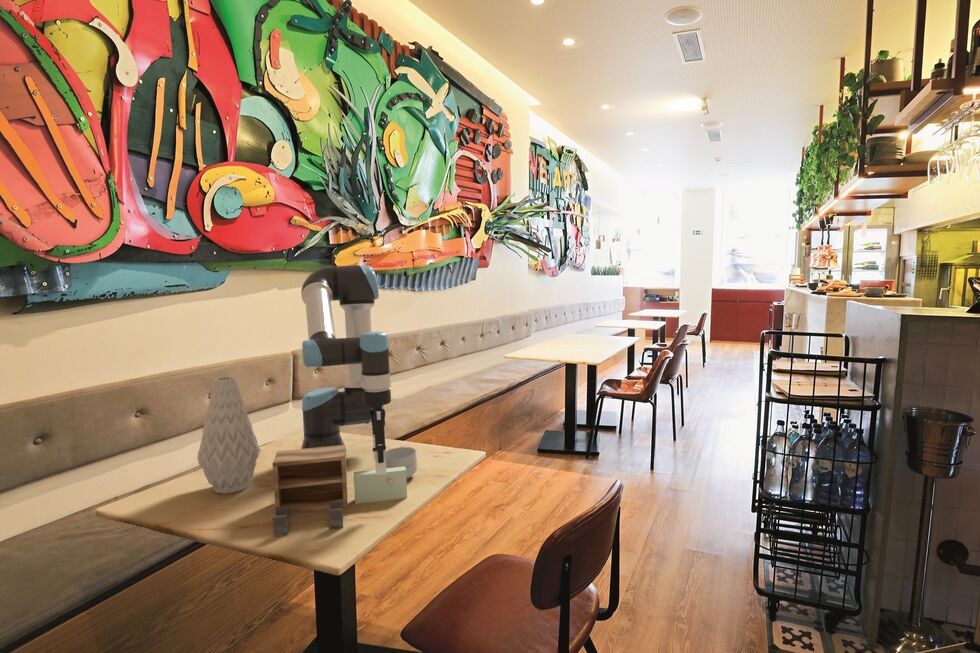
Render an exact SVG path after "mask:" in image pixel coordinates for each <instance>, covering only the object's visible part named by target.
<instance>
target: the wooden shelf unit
mask: <svg viewBox="0 0 980 653" xmlns="http://www.w3.org/2000/svg"><path fill="white" fill-rule="evenodd" d="M345 448H346V444H344V445H338V446H327V447H316V448H306V449H301V448H296V449H286V450H277V451H276V453H275V455H274V456H275V457H274V459H273V461H272V473H273V474H272V476H273V477H272V478H273V490H274V491H273V494H274V508H275V515H273V516H272V530H273V537H281V536H287V535H288V533H289V529H290V528H289V527H290V524H291V523H290V522H291V520H290V518H291V517H290V515H291V514H301V513H308V512H316V511H326V510H328V511H329V527H330V529H329V530H335V529H343V528H344V508H348V478H347V477H348V475H347V474H348V473H347V450H346V451H345Z"/></svg>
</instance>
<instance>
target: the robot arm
mask: <svg viewBox="0 0 980 653" xmlns="http://www.w3.org/2000/svg"><path fill="white" fill-rule="evenodd" d="M300 294H301V299H302V302H303V303H304V304H305V312H306V313H305V314H306V323H307V324H306V325H307V326H306V327H307V336H308V338H307V340H303V341H302V343H301V344H302V345H301V348H302V349H301V350H302V364H303V366H305V367H307V368H313V367H314V368H315V367H316V368H321V367H330V366H331V367H333V366H342V365H345V366H346V365H347V376H348V377H347V379H348V380H347V382H346V383H345V384H344V386H343V388H344V389H343V391H339V389H338V388H337V387H334V386H332V387H322V388H318V389H315V390H311V391H310V392H307V393H306V394H304V395H303V397H302V400H301V401H302V402H301V403H302V406H301V411H302V424H303V425H302V426H303V440H302V444H301V447H300V449H306V448H316V447H327V446H338V445H345V443H344V440H343V439H342V436H341V431H340V430H341V428H340V427H346V426H353V425H354V426H355V425H363V424H365V425H369V424H371V427H372V428H371V430H372V452H373V460H375V461H374V462H375V463H374V464H375V470H376V475H381V474H387V472H386V450H387V446H386V438H385V436H386V434H385V426H386V410H385V408H384V407H385V405H389V404H390V403H391V402H392V392H391V391H392V390H391V389H390V388H391V386H392V385H391V371H390V342H389V334H388V333H387V332H385V331H372V314H371V310H372V308H373V307H374V306H375V301H376V300H378V299H379V295H380V292H379V285H378V279H377V275H376V272H375V269H374V268H373V267H372V266H369V265H360V264H358V265H327V266H322V267H319V268H317V269H315V270H314V271H313V272H311V273H310V274H309V275H308V276H307V277H306V279H305V280H304V282H303V284H302V285H301V291H300ZM332 301H333V302H334V301H339V307H340V308H341V309H342V310H343V311H344V321H345V323H344V325H345V337H343V338H342V337H340V338H336V331H335V330H336V329H335V322H334V318H333V311H332V310H333V308H332V303H331V302H332ZM345 451H346V452H347V449H346V447H345Z"/></svg>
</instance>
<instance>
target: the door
mask: <svg viewBox="0 0 980 653" xmlns="http://www.w3.org/2000/svg"><path fill="white" fill-rule="evenodd" d="M386 472H387V474H381V475H376V469H369V470H358V471H353V488H354V490H353V491H354V504H355V505H358V504H366V503H368V504H369V503H374V502H375V503H376V502H383V501H391V500H393V501H394V500H398V499H399V500H400V499H407V498H408V486H407V479H406V468H405V466H404V467H395V468H386Z"/></svg>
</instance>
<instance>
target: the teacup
mask: <svg viewBox="0 0 980 653" xmlns="http://www.w3.org/2000/svg"><path fill="white" fill-rule="evenodd" d="M417 459H418V458H417V449H416V448H414V447H411V446H410V447H409V446H408V447H407V446H405V445H400V446H399V447H394V448H390V449H386V468H395V467H404V466H405V468H406V480H409V479H410V478H411V477H412V476H413V475H415V473H416V471H417V469H418V460H417Z"/></svg>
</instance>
